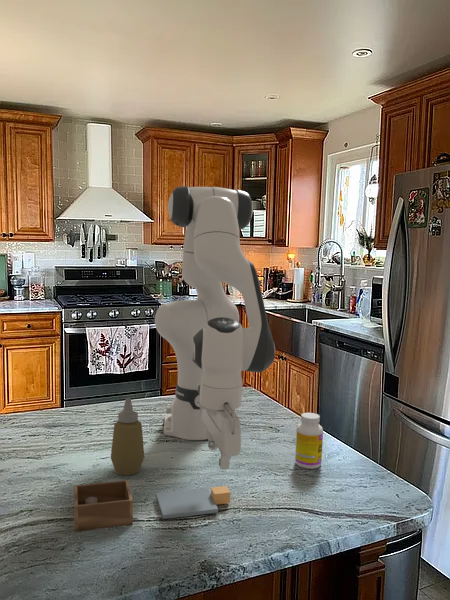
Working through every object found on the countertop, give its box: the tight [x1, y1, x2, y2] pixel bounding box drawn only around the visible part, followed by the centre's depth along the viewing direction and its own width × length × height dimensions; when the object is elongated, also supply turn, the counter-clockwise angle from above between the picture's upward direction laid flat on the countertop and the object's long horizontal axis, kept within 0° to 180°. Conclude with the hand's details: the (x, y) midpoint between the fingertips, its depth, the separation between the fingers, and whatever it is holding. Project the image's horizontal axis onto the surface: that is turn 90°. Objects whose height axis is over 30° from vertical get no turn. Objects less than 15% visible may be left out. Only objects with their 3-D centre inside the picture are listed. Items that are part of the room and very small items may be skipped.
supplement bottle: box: [294, 412, 324, 470], centre depth 133 cm, size 7×7×13 cm
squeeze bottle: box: [110, 397, 145, 476], centre depth 126 cm, size 8×8×18 cm
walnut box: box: [73, 479, 134, 533], centre depth 106 cm, size 9×11×5 cm
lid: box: [155, 485, 231, 520], centre depth 111 cm, size 9×15×3 cm, turn 106°
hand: (218, 457), depth 113 cm, fingers open, 8 cm apart
